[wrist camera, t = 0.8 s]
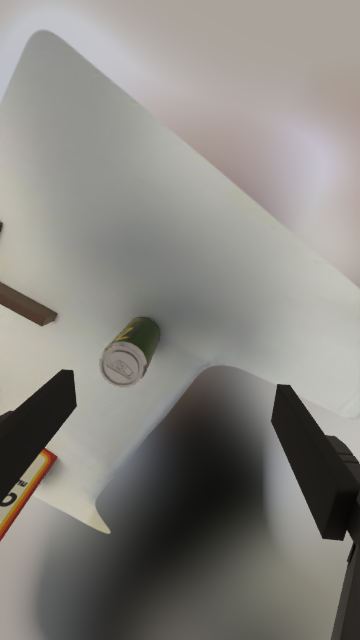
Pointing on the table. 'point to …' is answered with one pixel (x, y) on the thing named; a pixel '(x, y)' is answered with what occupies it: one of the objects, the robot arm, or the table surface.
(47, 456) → the baking soda box
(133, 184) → the table surface
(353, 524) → the robot arm
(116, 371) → the green soda can
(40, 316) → the corner
